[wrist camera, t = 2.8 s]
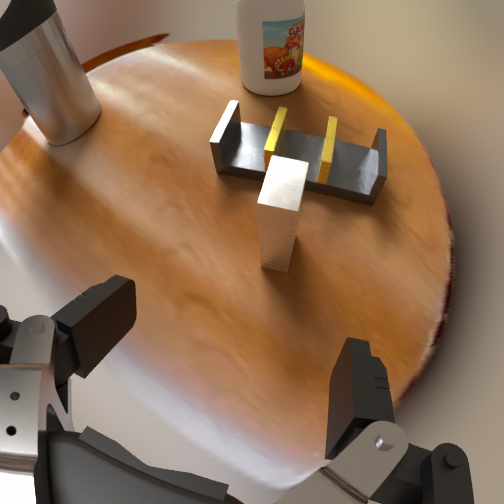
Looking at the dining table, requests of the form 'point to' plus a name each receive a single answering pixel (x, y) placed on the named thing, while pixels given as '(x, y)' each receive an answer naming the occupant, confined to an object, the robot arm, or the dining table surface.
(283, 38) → the milk bottle
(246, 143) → the rack
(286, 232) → the white block
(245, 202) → the dining table surface
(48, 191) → the dining table surface
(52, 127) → the robot arm
